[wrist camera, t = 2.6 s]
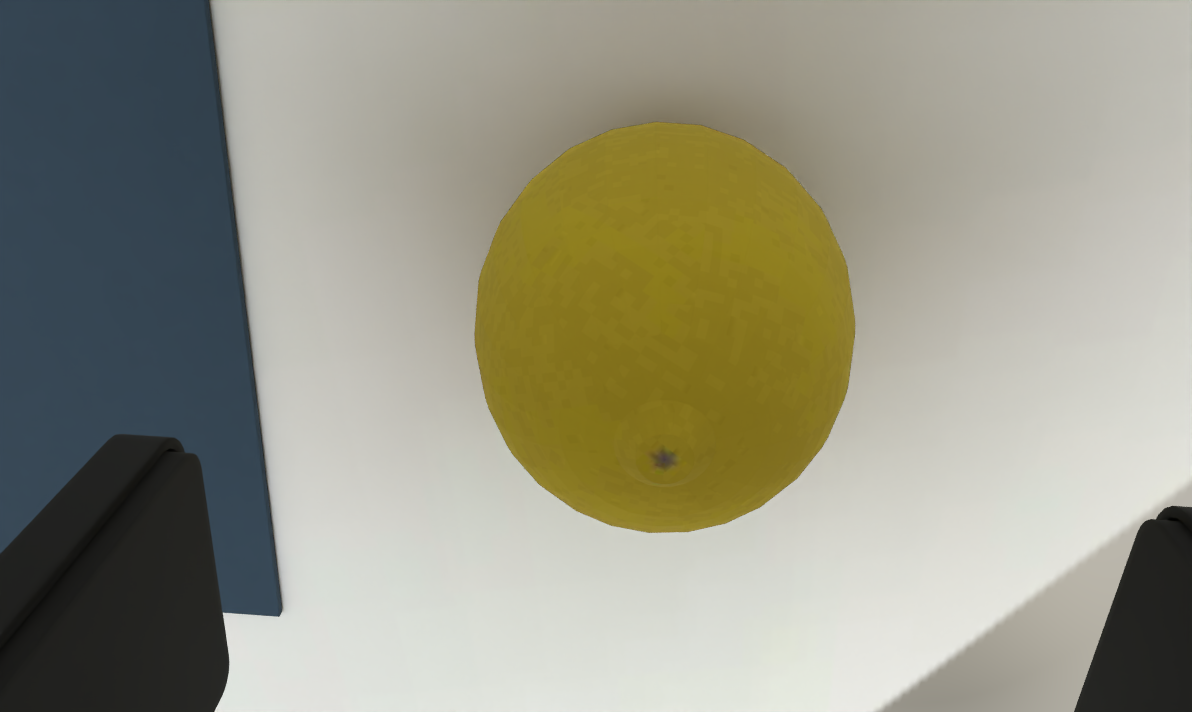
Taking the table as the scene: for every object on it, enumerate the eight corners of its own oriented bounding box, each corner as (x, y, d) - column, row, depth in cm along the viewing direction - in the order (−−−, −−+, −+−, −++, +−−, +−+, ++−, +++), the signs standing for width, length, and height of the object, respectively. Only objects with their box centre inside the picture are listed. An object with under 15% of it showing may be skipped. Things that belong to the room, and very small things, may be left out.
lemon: (856, 121, 17) (995, 310, 10) (754, 388, 20) (810, 688, 13) (549, 36, 17) (475, 172, 10) (484, 320, 20) (388, 590, 12)
